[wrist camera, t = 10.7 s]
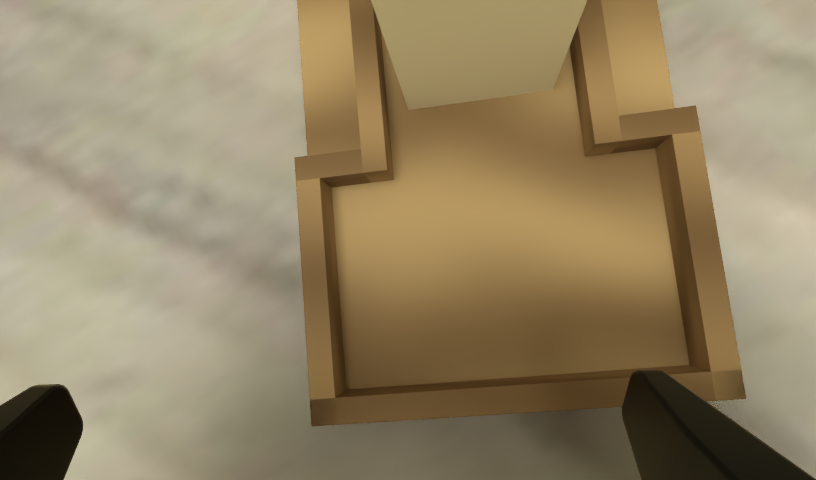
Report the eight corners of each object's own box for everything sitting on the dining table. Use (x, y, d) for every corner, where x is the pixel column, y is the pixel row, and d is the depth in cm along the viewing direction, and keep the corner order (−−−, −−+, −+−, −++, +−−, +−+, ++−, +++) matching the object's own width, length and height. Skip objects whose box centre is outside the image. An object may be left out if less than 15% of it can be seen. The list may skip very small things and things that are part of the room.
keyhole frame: (714, 387, 16) (746, 398, 14) (328, 413, 17) (311, 426, 15) (633, -114, 18) (650, -159, 16) (296, -53, 19) (278, -88, 18)
